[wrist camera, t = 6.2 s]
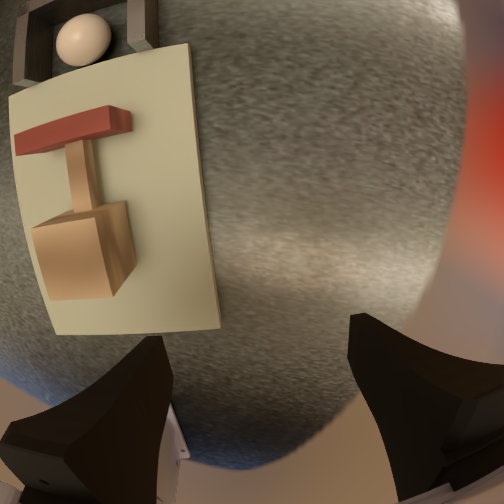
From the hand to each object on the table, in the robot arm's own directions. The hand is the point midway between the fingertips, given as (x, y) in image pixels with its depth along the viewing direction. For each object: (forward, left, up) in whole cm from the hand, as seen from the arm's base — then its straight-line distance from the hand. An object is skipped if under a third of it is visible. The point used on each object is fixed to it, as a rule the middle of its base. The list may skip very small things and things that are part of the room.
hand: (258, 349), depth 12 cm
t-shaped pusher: (+6, +9, -8) cm, 13 cm away
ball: (+16, +9, -8) cm, 20 cm away
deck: (+5, +9, -10) cm, 14 cm away
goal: (+17, +9, -10) cm, 21 cm away
